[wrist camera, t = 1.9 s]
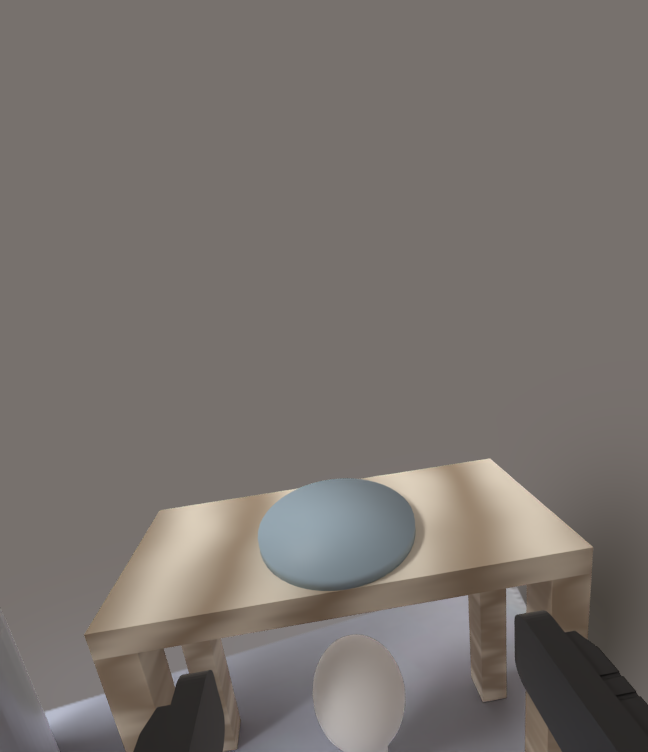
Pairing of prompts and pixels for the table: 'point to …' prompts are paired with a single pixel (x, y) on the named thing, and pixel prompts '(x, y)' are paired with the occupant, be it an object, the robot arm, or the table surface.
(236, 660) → the table surface
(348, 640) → the lightbulb
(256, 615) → the stool
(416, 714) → the table surface
